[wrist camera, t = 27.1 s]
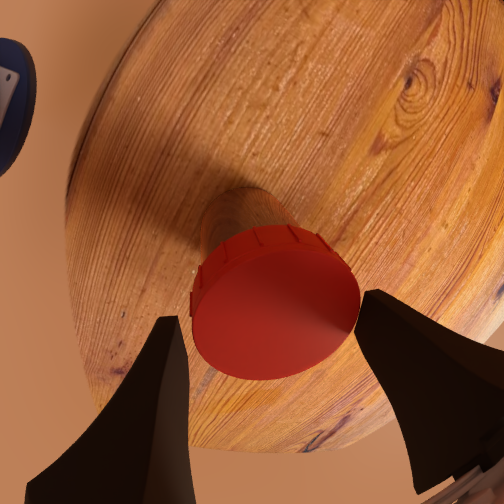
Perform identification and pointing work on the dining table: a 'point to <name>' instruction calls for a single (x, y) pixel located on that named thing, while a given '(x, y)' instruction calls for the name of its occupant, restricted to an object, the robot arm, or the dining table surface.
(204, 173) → the dining table surface
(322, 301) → the jar lid
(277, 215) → the jar
